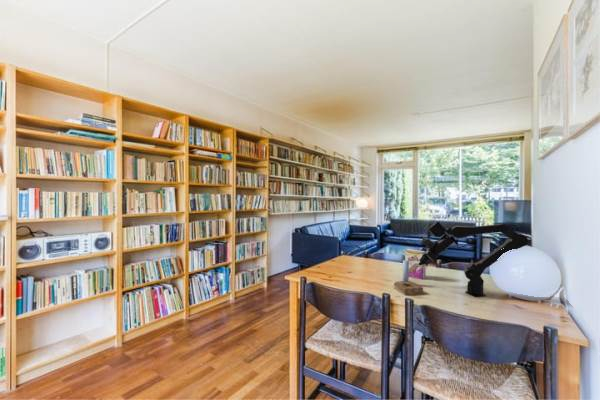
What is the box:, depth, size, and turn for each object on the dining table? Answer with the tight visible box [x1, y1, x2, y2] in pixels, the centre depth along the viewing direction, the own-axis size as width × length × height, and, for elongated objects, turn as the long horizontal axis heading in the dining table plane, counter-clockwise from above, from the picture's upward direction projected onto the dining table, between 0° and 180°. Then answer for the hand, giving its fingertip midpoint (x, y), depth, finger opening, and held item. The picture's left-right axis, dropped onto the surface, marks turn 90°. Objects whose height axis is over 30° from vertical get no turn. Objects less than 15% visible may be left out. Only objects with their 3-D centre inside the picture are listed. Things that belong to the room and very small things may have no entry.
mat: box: [395, 280, 422, 287], centre depth 155 cm, size 10×10×1 cm
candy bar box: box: [404, 248, 427, 280], centre depth 168 cm, size 11×5×16 cm, turn 47°
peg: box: [402, 259, 410, 282], centre depth 154 cm, size 3×3×13 cm
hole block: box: [393, 281, 424, 296], centre depth 143 cm, size 10×10×4 cm
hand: (419, 262), depth 150 cm, fingers open, 9 cm apart
